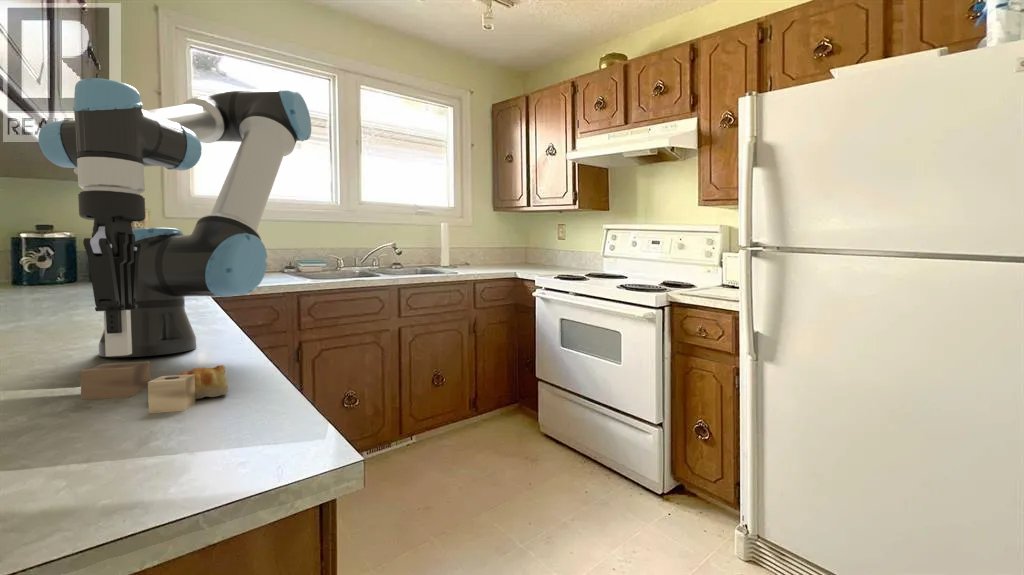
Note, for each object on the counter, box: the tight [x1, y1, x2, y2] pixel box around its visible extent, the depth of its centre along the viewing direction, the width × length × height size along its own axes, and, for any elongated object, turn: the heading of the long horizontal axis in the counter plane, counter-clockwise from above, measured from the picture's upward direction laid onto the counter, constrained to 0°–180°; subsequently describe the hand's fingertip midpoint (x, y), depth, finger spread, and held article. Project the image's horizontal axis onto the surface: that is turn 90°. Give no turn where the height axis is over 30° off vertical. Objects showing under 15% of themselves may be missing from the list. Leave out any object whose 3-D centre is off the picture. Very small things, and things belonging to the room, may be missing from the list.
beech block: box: [147, 374, 196, 414], centre depth 65 cm, size 4×4×4 cm
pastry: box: [176, 364, 229, 400], centre depth 71 cm, size 9×7×4 cm
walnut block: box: [79, 360, 152, 400], centre depth 73 cm, size 6×6×4 cm
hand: (119, 354), depth 73 cm, fingers closed
